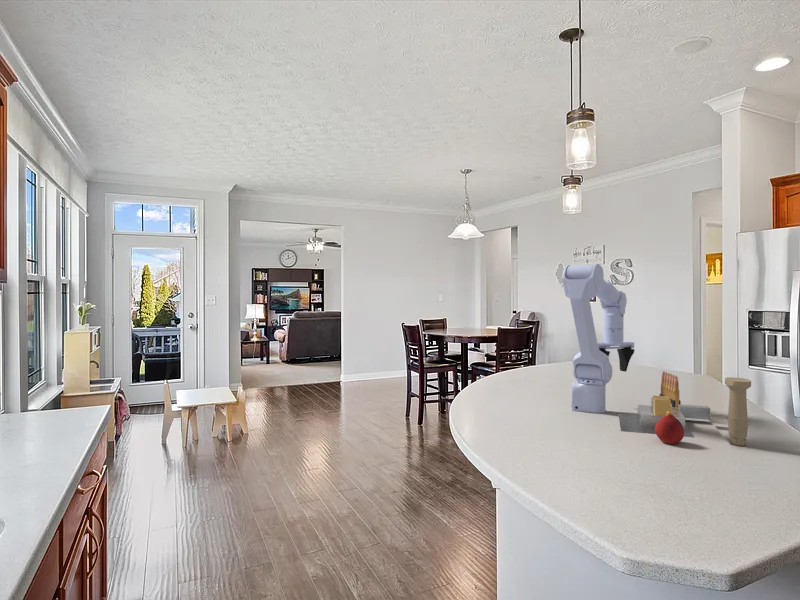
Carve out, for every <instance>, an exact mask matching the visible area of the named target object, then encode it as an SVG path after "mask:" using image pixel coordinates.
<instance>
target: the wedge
mask: <svg viewBox="0 0 800 600" xmlns="http://www.w3.org/2000/svg"><path fill="white" fill-rule="evenodd" d="M652 397H653V412H654V415H660V416H666V412H670V413H671V400H670V399H669V397H668V396H660V395H652Z"/></svg>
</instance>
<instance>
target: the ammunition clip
mask: <svg viewBox="0 0 800 600" xmlns="http://www.w3.org/2000/svg"><path fill="white" fill-rule="evenodd" d="M679 385H680V384H679V378H678V375H675V374H672V373H670V372H667V371H666V372H665V370H664V371H662V374H661V383H660V393H659V396H668V397H669V399H670V400H671V407H677V408H678V407H679V404H682V402H681V399H680V389H679V387H680V386H679Z"/></svg>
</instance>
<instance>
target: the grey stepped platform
mask: <svg viewBox="0 0 800 600" xmlns="http://www.w3.org/2000/svg"><path fill="white" fill-rule="evenodd" d="M650 403H651V405H645V404H644V405H643V404H637V414H634V413H633V414H632V413H631V414H630V413H620V412H619V413H617V414H618V419H619V427H620V432H626V433H636V434H637V433H638V434H639V433H640V434H650V435H656V432H655V426H656V424H657V422H658V421H659V420H660V419H661V418H662V417H664V416H660V415H654V412H653V396H652V397H651V399H650ZM671 414H672V415H673V416H674V417H675V418H677V419H678V420H679V421H680V423H681V424H682V426H683V428H684V437H683V438H686V437H687V438H695V436H694V434H693V433H692V431H691V430H690V429H689V427H688V425H687V424H686V419H694V420H704V421H705V420H707V421H708V420H709V421H711V408H710V407H709V406H708V405H698V404H697V405H694V404H682V403H681V404H679V407H678V408H677V407H671Z"/></svg>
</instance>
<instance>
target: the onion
mask: <svg viewBox="0 0 800 600" xmlns="http://www.w3.org/2000/svg"><path fill="white" fill-rule="evenodd" d="M655 432H656V434H655V435H656V436H657V438H658V439H659V440H660V441H661V442H662V443H663V444H666V445H677V444H679V443H680V442H681V441H682V440H683V438H685V437H684V428H683V426H682V424H681V423H680V421H679V420H678V419H677V418H675V417H674V416H673V415H672V414H671V413H670V412H666V416H664V417H662V418H661V419H660V420H659V421H658V422H657V424H656V426H655Z"/></svg>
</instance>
